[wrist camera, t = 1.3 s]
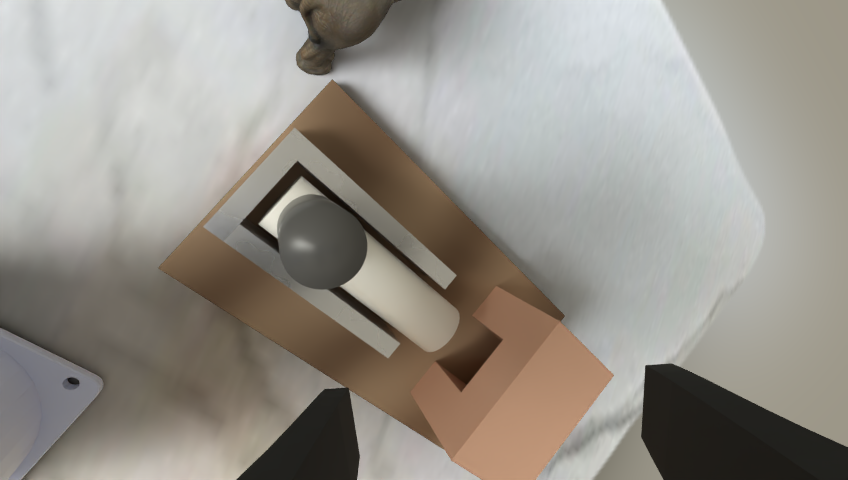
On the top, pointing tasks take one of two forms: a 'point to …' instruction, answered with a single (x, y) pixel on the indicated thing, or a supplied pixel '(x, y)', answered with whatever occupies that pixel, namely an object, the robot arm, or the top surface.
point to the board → (317, 332)
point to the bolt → (355, 265)
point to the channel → (300, 150)
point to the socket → (513, 393)
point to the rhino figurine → (335, 28)
